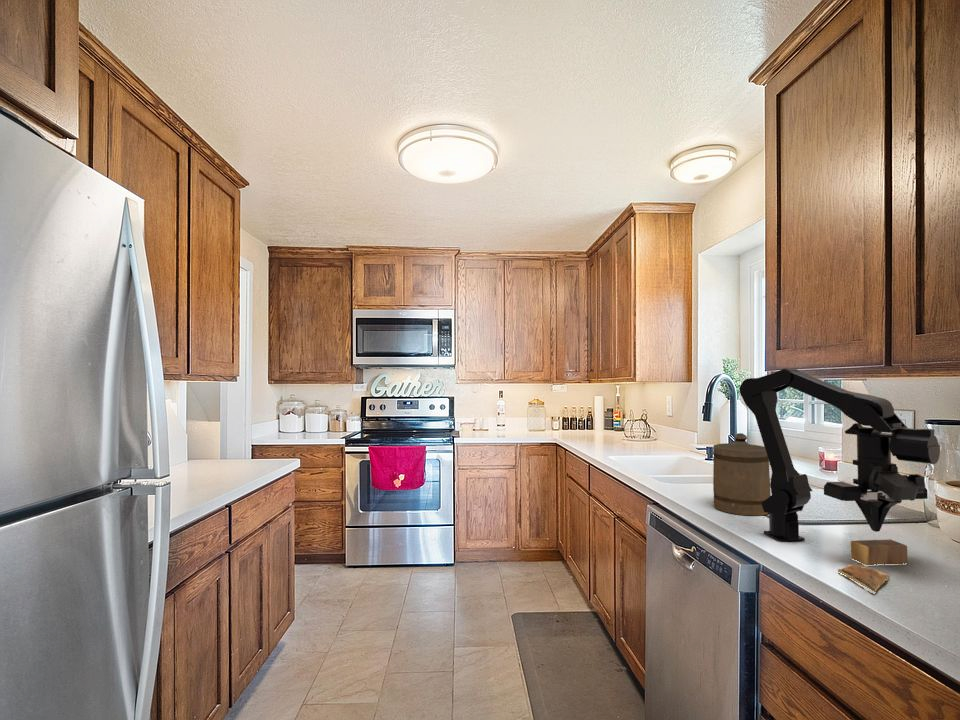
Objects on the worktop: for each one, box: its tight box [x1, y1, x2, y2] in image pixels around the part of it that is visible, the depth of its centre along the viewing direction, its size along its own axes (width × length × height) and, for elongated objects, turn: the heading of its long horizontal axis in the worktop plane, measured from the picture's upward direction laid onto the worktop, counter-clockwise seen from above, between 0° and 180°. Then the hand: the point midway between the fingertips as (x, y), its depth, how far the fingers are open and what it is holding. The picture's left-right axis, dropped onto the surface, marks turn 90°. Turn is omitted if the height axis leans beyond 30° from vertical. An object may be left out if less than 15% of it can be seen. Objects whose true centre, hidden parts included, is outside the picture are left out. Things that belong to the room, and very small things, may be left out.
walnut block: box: [850, 538, 909, 565], centre depth 109 cm, size 4×4×9 cm
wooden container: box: [712, 432, 772, 517], centre depth 151 cm, size 15×15×22 cm
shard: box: [837, 563, 890, 592], centre depth 100 cm, size 11×8×2 cm
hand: (875, 531), depth 109 cm, fingers closed
